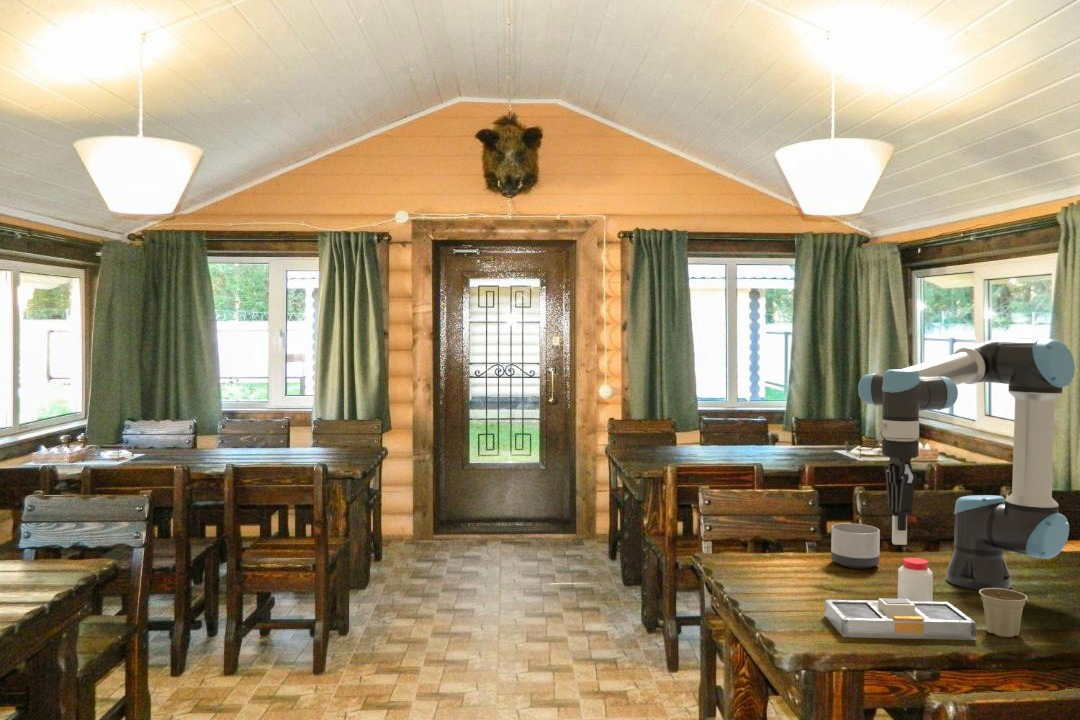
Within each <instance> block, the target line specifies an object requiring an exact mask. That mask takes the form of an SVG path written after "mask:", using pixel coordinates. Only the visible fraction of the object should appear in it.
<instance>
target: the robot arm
mask: <svg viewBox="0 0 1080 720" xmlns="http://www.w3.org/2000/svg"><path fill="white" fill-rule="evenodd" d="M1075 367H1076V366H1075V359H1074V356H1073V354H1072V352H1071V350H1070V349H1069V348H1068V346H1067V344H1065V343H1064V342H1063V341H1060V340H1058V339H1054V338H1052V339H1051V338H1043V337H1041V338H1040V337H1039V338H1006V337H1005V338H1004V337H1003V338H996V339H991V340H990V339H989V340H986V341H983V342H978V343H975V344H971V345H968V346H965V347H961V348H959V349H957V350H956V351H954V352H953V354H950V355H947V356H944V357H940V358H937V359H933V360H929V361H926V362H923V363H917V364H916V365H915V364H914V365H912V366H909V367H905V368H902V369H895V368H894V369H886V370H885V371H884V372H883V373H877V372H876V373H867V374H864V375H863V376H862V377H861V379H859V382H858V387H857V390H858V391H857V392H858V393H857V394H858V397H859V398H860V400H861V401H862V402H863V403H864V404H868V405H874V406H876V407H877V406H881V407H882V423H881V424H879V426H880V428H881V429H882V437H883V439H882V440H881V453H882V455H883V456H884V457H886V458H889V461H888V465H884V467H883V470H884V474H885V480H886V493H887V494H886V495H887V507H888V509H889V510H890V511H891V515H892V516H891V543H892V544H893V545H894V546H895V545H899V546H900V545H903V546H904V545H907V544H908V516H911V515H912V514H913V502H914V495H915V485H916V481H917V478H918V476H917V474H916V473H913V466H912V462H911V460H912V459H915V458H917V457H919V454H920V453H919V448H920V447H919V445H920V444H919V440H917V439H918V438H920V420H919V419H920V417H919V416H920V412H921V411H935V410H936V411H941V410H944V409H948V408H949V409H950V408H951V407H953V406H954V404H955V403H956V402H957V400H958V397H959V395H958V394H959V390H958V387H957V385H961V384H965V385H974V384H977V383H993V384H994V383H995V384H1005V385H1006V384H1007V385H1008V393H1010V395H1012V397H1013V398H1014V423H1013V424H1014V427H1013V428H1014V429H1013V449H1012V450H1013V453H1012V457H1013V458H1012V482H1011V483H1012V485H1011V494H1009V495H1008V496H1007V497H1006V498H1005V497H1004V496H1002V495H991V494H990V495H988V494H983V495H980V494H978V495H976V494H975V495H966V496H961V497H958V498H957V499H956V501H955V504H954V505H955V506H954V507H955V508H954V512H953V514H954V538H953V539H954V542H953V543H954V546H953V549H954V550H953V553H952V556H951V559H950V561H949V564H948V567H947V569H946V581H948V583H950V584H952V585H954V586H958V587H962V588H965V589H971V590H977V591H979V590H981V589H985V588H1001V589H1008V590H1010V588H1011V585H1012V584H1011V583H1012V581H1011V575H1010V572H1009V569H1008V566H1007V562H1006V561H1005V560H1006V559H1005V554H1004V553H1005V552H1004V551H1007V552H1011V553H1015V554H1020V555H1024V556H1028V557H1029V558H1037V559H1043V560H1049V559H1050V560H1051V559H1052V558H1055V557H1057V556H1058V555H1059V554H1061V552H1062V550H1063V549H1064V547H1065V546H1066V544H1067V542H1068V538H1069V535H1070V534H1069V533H1070V524H1069V521H1068V518H1067V517H1066V516H1065V515H1064V514H1062V513H1060V512H1059V508H1060V507H1059V503H1058V502H1057V501H1056V500H1055V499H1054V498H1053V497H1052V496H1053V495H1052V494H1053V472H1054V471H1053V470H1054V469H1053V468H1054V445H1055V444H1054V443H1055V442H1054V440H1055V439H1054V438H1055V436H1054V435H1055V414H1056V413H1055V412H1056V411H1055V410H1056V400H1057V399H1058V398H1060V397H1061V396H1062V395H1063V388H1066V387H1067V386H1069V385H1070V384H1071V383H1072V381H1073V379H1074V376H1075V370H1076V369H1075Z"/></svg>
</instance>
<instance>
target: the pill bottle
mask: <svg viewBox="0 0 1080 720" xmlns="http://www.w3.org/2000/svg"><path fill="white" fill-rule="evenodd" d="M902 561H903V562H902V563H903V564H902V565H901V566H900V567H899V568H898V569H897V599H908V600H910V601H925V602H934V601H933V599H934V598H933V594H934V593H933V592H934V591H933V590H934V589H933V586H934V584H933V583H934V573H933V571H932V570H931V569H930V568H929V561H928V560H926V559H923V558H920V557H919V558H918V557H904V558H903V560H902Z"/></svg>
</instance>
